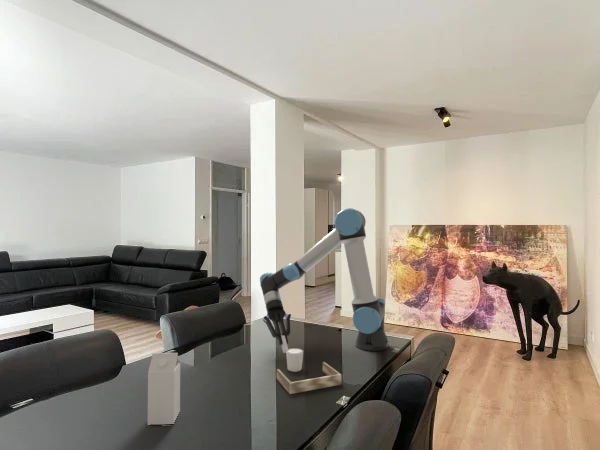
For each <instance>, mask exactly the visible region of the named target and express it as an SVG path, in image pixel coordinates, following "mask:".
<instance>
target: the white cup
mask: <svg viewBox="0 0 600 450" xmlns="http://www.w3.org/2000/svg"><path fill="white" fill-rule="evenodd" d="M285 354H286V355H285V356H286V367H287V370H288V372H289V371H290V372H300V371H301V370H302V369H303V357H304V350H303V349H301V348H296V347H295V348H294V347H293V348H288V350H286V353H285Z"/></svg>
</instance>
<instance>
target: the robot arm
mask: <svg viewBox="0 0 600 450" xmlns="http://www.w3.org/2000/svg"><path fill="white" fill-rule="evenodd" d="M334 226H335V227H334V229H332V231H330V232H329V233H328V234H326V235H325V236H324V237H323V238H322V239H321V240H320V241H318V242H317V243H316V244H315V245H313V246H312V247H311V248H310V249H309V250H307V252H306V253H303V255H302V256H300V257H299V258H298V259H297V260H296V261H295V262H293V263H291V262H290V263H289V264H287V265H284V266H282V268H280V269H279V270H277V271H276V272H274V273H272V272H266V273H262V275H260V277H259V282H260V287H261V291H262V295H263V296H262V297H263V301H264V305H265V309H266V313H267V314H266V315H265V316H263V319H262V321H263V322H264V323H265V324H266V327H267V328H268V330H269V332H270V334H271V336H272V338H274V339H275V338H276V340H277V342H278V345H279V346H281V349H282V354H286V350H288V349H289V347H288V344H289V339H288V337H289V336H290V334H291V316H292V314H291V313H289V314H288V313H286V311H285V309H284V305H283V302H282V298H281V295H280V292H279V291H280V289H282V288H283V287H285V286H286V285H288V284H290V283H292V282H295V281H298V280H300V279H301V278H303V277H304V275H305V274H306V273H307V272H308V271H310V270H311V269H312V268H313V267H314V266H316V265H317V264H318V263H320V261H322V260H324V258H325V257H327V256H328V255H329V254H330V253H332V252H333V251H334V250H335V249H337V248H338V247H339V246H341V244H343V245H344V251H345V255H346V263H347V267H348V273H349V278H350V282H351V288H352V293H353V300H351V307H352V312H353V314H352V323H353V326H354V327H355V329H356V330H357V334H356V337H355V340H354V342H355V344H354V345H355V347H356V348H358V349H360V350H365V351H372V352H380V351H385V350H387V349H388V348H389V341H388V338H387V335H386V331H385V299H384V298H383V297H378V296H376V295H375V293H374V289H373V288H374V287H373V284H372V279H371V275H370V274H371V273H370V267H369V264H368V258H367V254H366V248H365V247H366V246H365V244H364V243H365V242H364V241H365V239H366V237H367V234H366V230H365V227H366V218H365V216H364V214H363V213H362V212H361V211H360V210H357V209H354V208H345V209H342V210H340V211H339V212H338V213H337V214H336V216H335V219H334ZM284 319H285V321H284Z"/></svg>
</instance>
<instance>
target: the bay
mask: <svg viewBox="0 0 600 450" xmlns="http://www.w3.org/2000/svg"><path fill="white" fill-rule="evenodd" d="M322 372H323V373H324V374H326V375H325V376H320V377H314V378H308V379H303V380H297V381H291V380H290V379H289V378H288V377H287V376H286V374H284V373H283V372H282V371H281V370H280V369H279V368H277V369H276V381H278V382H279V384H280V385H281V386H282V387H283V388H284V389H285V391H286V392H287V393H288V394H289V395H292V394H297V393H303V392H308V391H313V390H318V389H325V388H330V387H335V386H341V385H342V374H341V373H340V372H339V371H338V370H336V369H335V368H334V367H333V366H331V365H329V364H328V363H326V362H325V361H322Z"/></svg>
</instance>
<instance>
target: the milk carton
mask: <svg viewBox="0 0 600 450" xmlns="http://www.w3.org/2000/svg"><path fill="white" fill-rule="evenodd" d="M178 354H179V353H178V352H160V353H159V352H156V353H152V354H151V361H150V365H149V367H148V369H147V370H148V371H147V373H148V374H147V426H148V425H150V424H174V425H175V423H176V421H177V419H178V417H179V415H180V413H181V407H180V406H181V360H180V359H179V355H178ZM179 412H180V413H179ZM178 414H179V415H178ZM177 416H178V417H177ZM176 418H177V419H176ZM175 420H176V421H175ZM174 422H175V423H174Z"/></svg>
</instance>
